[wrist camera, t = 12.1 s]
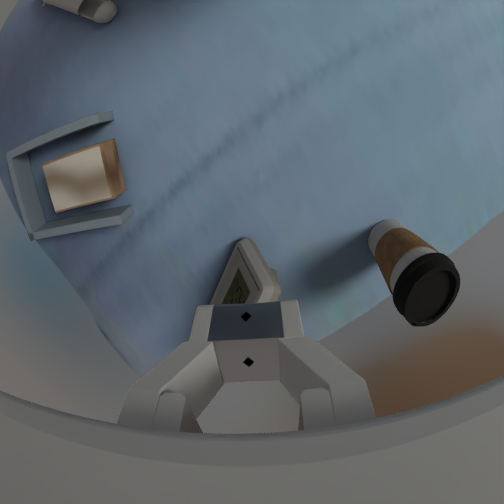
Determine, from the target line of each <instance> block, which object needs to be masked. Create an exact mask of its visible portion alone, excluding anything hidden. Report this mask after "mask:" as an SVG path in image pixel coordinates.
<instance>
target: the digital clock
mask: <svg viewBox="0 0 504 504" xmlns="http://www.w3.org/2000/svg"><path fill="white" fill-rule="evenodd" d="M280 294H281V288H280V285H279V284H278V281H277V273H276V271H275V270H273V269H271V268H269V266H268V265H267V263H266V261H265V260H264V258H263V256H262V255H261V253H260V251H259V250H258V248H257V246H256V245H255V243H254V242H253V241H252V240H251V239H249V238H246V237H245V238H243V239H242V240H240V241H238V242H237V244H236V246H235V248H234V250H233V252H232V255H231V257H230V259H229V261H228V263H227V266H226V268H225V270H224V272H223V275H222V277H221V279H220V282H219V284H218V286H217V288H216V291H215V293H214V295H213V298H212V300H211V302H210V304H209V305H215V304H243V303H247V304H248V303H262V302H275V301H277V300H278V298H279V296H280Z"/></svg>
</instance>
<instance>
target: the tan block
mask: <svg viewBox="0 0 504 504" xmlns="http://www.w3.org/2000/svg"><path fill="white" fill-rule="evenodd" d="M42 167H43V171H44V175H45V179H46V183H47V186H48V190H49V193H50V197H51V200H52V203H53V206H54V210H55V213H58V212H62V211H65V210H69V209H73V208H77V207H81V206H85V205H89V204H93V203H97V202H102V201H106V200H110V199H115V198H116V197H117V196H118V195H120V194H121V193H122V192H124V191H125V190H126V186H125V182H124V178H123V174H122V170H121V165H120V161H119V157H118V152H117V147H116V143H115V138H114V139H111V140H108V141H105V142H102V143H98V144H95V145H92V146H89V147H86V148H84V149H81V150H78V151H75V152H72V153H70V154H67V155H64V156H62V157H59V158H56V159H54V160H51V161H49V162H46V163H44V164H42Z"/></svg>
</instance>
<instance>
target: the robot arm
mask: <svg viewBox="0 0 504 504" xmlns="http://www.w3.org/2000/svg"><path fill="white" fill-rule="evenodd" d="M268 380H280V382H281V383H282V384H283V386H284V387H285V388H286V389H287V390H288V392H289V393H290V394H291V395H292V397H293V398H294V399H295V400H296V401H297V402H298V404H299V405H300V413H299V426H298V431H290V432H274V433H252V434H212V433H203V432H202V430H201V428H200V426H199V424H198V422H197V420H196V419H197V418H198V416H199V415H200V414H201V412H202V411H203V410H204V409H205V408H206V406H207V405H208V404H209V402H210V401H211V400H212V399H213V397H214V396H215V395H216V393H217V392H218V391H219V390H220V388H221V387H222V386H223V384H224V383H223V382H244V381H268ZM0 504H504V376H502V377H500V378H498V379H496V380H494V381H491V382H489V383H487V384H484V385H482V386H480V387H477V388H475V389H472V390H470V391H467V392H465V393H462V394H459V395H456V396H454V397H451V398H448V399H445V400H442V401H439V402H436V403H433V404H430V405H426V406H423V407H420V408H416V409H413V410H409V411H405V412H402V413H398V414H394V415H390V416H385V417H381V418H376V416H375V412H374V409H373V405H372V402H371V398H370V395H369V392H368V388H367V385H366V382H365V380H364V379H363V378H361V377H360V376H359V375H358V374H356V373H355V372H354V371H353V370H351V369H350V368H349V367H348V366H346V365H345V364H344V363H342V362H341V361H340V360H339V359H337V358H336V357H335V356H334V355H333V354H331V353H330V352H329V351H328V350H326V349H325V348H324V347H323V346H321V345H320V344H319V343H318V342H316V341H315V340H314V339H313V338H311V337H310V336H304V333H303V327H302V322H301V317H300V311H299V306H298V301H297V299H290V300H281V301H275V302H262V303H248V304H247V303H243V304H215V305H199V306H198V307H197V308H196V312H195V316H194V320H193V324H192V328H191V332H190V336H189V340H188V342H183V343H182V344H180V345H179V346H178V347H177V348H176V349H175V350H173V351H172V352H171V353H170V354H169V355H168V356H166V357H165V358H164V359H163V360H162V361H160V362H159V363H158V364H157V365H156V366H155V367H153V368H152V369H151V370H150V371H149V372H147V373H146V374H145V375H144V376H143V377H141V378H140V379H139V380H138V381H137V382H135V384H133V385H132V386H131V387H130V388H129V389H128V392H127V395H126V398H125V401H124V404H123V407H122V410H121V413H120V416H119V419H118V422H117V424H115V423H110V422H105V421H100V420H95V419H90V418H86V417H82V416H78V415H73V414H70V413H66V412H62V411H58V410H55V409H52V408H48V407H45V406H42V405H39V404H36V403H33V402H30V401H27V400H24V399H21V398H18V397H15V396H13V395H10V394H8V393H5V392H3V391H0Z"/></svg>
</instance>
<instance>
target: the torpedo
mask: <svg viewBox="0 0 504 504" xmlns="http://www.w3.org/2000/svg"><path fill="white" fill-rule="evenodd" d="M43 2H44V3H43V5H42V7H43V6H44V5H45V4H50V5H53V6H56V7H59V8H61V9H64V10H66V11H69V12H72V13H74V14H77V15H79V16H83V17H85V18H88V19H90V20H93V21H95V22H97V23H107V22H109V21H111V20H112V19H113V18H114V16H115V15H116V13H117V6H116V4H114V3H113V2H112V1H108V0H43Z"/></svg>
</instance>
